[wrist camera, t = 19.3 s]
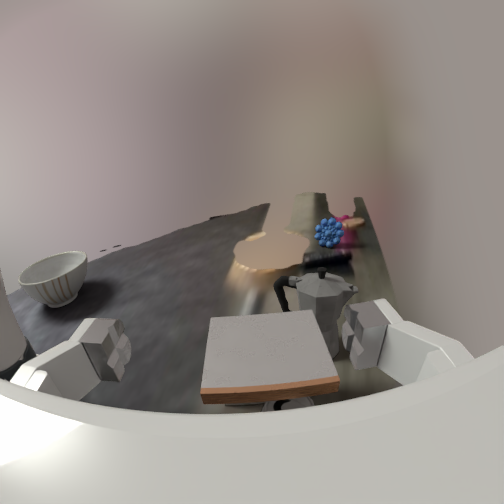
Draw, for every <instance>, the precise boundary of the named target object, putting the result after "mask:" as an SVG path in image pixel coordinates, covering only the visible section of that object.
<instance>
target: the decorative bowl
mask: <svg viewBox="0 0 504 504" xmlns="http://www.w3.org/2000/svg"><path fill="white" fill-rule="evenodd" d="M86 272H87V255H86V253H84V252H81V251H69V252H63V253H59V254H56V255H52V256H50V257H47V258H45V259H42V260H40V261H38V262H36V263H34V264H32V265H31V266H29V267H28V268H26V269H25V270H24V271H23V272H22V273H21V274H20V276H19V278H18V281H19V283H20V285H21V287H22V288H23V290H24V291H25V292H26V293H27V294H28V295H29V296H30V297H31V298H33V299H34V300H36V301H38V302H40V303H43V304H47V305H48V306H49V307H52V308H57V307H61V306H64V305H67V304H69V303H70V302H72V301H73V300H74V299H75V298H76V297H77V295H78V293H77V292H78V291H79V290H80V288H81V286H82V285H83V282H84V280H85V276H86Z"/></svg>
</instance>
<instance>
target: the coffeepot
mask: <svg viewBox="0 0 504 504" xmlns="http://www.w3.org/2000/svg"><path fill="white" fill-rule="evenodd" d="M317 270H318V273H310V274H306V275H304V276H303V277H301V278H300V277H294V276H291V277H288V276H281V277H280V278H279V279H278V280H277V281H276V282H275V283H274V290H275V292H276V294H277V297H278V300H279V302H280V305H281V308H282V310H283V312H292V311H290V310H289V309H288V302H287V300H286V298H285V292H284V289H283V286H288V287H291V288H296V289H297V294H298V301H299V308H300V311H302V310H311V309H312V311H313V314H314V316H315V318H316V321H317V323H318V326H319V328H320V331H321V333H322V336H323V338H324V341H325V343H326V346H327V348H328V351H329V353H330V356H331V358H332V359H333V358H334V357H335V356H336V354H337V353H338V352H339V338H338V326H337V320H338V318H339V317H340V314H341V311H342V307H343V306H344V305H345V304H346V302H347V301H348V300H349V299H350V298H351V297H352V296H353V295H354V294H355V293H358V289H357V287H355V286H354V285H352V284H349V283H346V282H345V281H344V279H343V278H342V277H339V276H336V275H333V274H329V273H326V271H327V269H326V268H323V267H321V268H318V269H317Z"/></svg>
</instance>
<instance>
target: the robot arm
mask: <svg viewBox="0 0 504 504" xmlns="http://www.w3.org/2000/svg"><path fill="white" fill-rule="evenodd" d="M344 316H345V318H346V320H347V321H346V322H345V323H344V324H343V326H342V340H343V344H344V347H345V349H346V350H347V351H349V352H351V353H350V360H351V362H352V364H353V366H354V368H355V370H359V369H364V368H370V367H375V366H377V367H378V368H379V369H381V370H382V371H383V372H385V373H386V374H388V375H389V376H391V377H392V378H394V379H395V380H396V381H398V382H399V383H401V384H402V385H404V386H401V387H398V388H394V389H391V390H387V391H383V392H379V393H376V394H372V395H368V396H363V397H359V398H354V399H350V400H345V401H340V402H335V403H329V404H324V405H318V406H311V407H304V408H297V409H289V410H280V411H270V412H257V413H240V414H178V413H160V412H148V411H138V410H129V409H121V408H114V407H107V406H101V405H95V404H90V403H85V402H80V401H79V400H80V399H81V398H83V397H84V396H85V395H86V394H87V393H88V392H89V391H90V390H92V389H93V388H94V387H95V386H96V385H97V384H98V383H100V382H101V381H113V382H120V380H121V378H122V375H123V373H124V371H125V369H124V367H123V365H125V364H126V363H127V362H129V359H130V357H131V346H130V342H129V339H128V338H127V337H126V336H125V335H124V334H123V332H124V330H125V328H124V325H123V323H122V321H121V320H119V319H101V318H98V319H97V318H86V319H84V321H83V322H82V323H81V325H80V326H79V327H78V328H77V330H76V331H75V332H74V334H73V335H72V336H71V338H70V339H69V340H68V341H64V342H62V343H61V344H59V345H57V346H55V347H53V348H51V349H50V350H48V351H46V352H44V353H42V354H41V355H38V354H36V353H35V352H34V350H33V347H32V345H31V343H30V342H29V341H28V339H27V338H26V337H25V336H24V335H23V333H22V331H21V329H20V327H19V325H18V323H17V320H16V318H15V316H14V314H13V311H12V309H11V306H10V304H9V301H8V298H7V295H6V291H5V287H4V283H3V278H2V274H1V270H0V504H504V345H503V346H500V347H499V348H497V349H495V350H493V351H491V352H489V353H486V354H485V355H482V356H480V357H478V358H476V359H474V358H473V357H472V355H471V354H470V353H469V352H468V351H467V349H466V348H464V346H463V345H462V344H461V343H460V342H459V341H457V340H455V339H452V338H450V337H447V336H444V335H442V334H440V333H437V332H435V331H432V330H430V329H427V328H424V327H422V326H420V325H417V324H415V323H412V322H410V321H404V320H403V319H402V318H401V317H400V316H399V314H398V313H397V312H396V311H395V310H394V309H393V307H392V306H391V305H390V304H389V303H388V301H387V300H386V299H378V300H373V301H369V302H363V303H357V304H350V305H346V307H345V310H344ZM100 380H101V381H100Z"/></svg>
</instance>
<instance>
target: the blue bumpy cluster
mask: <svg viewBox="0 0 504 504" xmlns="http://www.w3.org/2000/svg"><path fill="white" fill-rule="evenodd" d="M341 228H342V223H341V222H336V219H335V218H330V219H329V220H327V219H323V220H322V221H321V225H317V226H316V229H315V230H316V232H318V233H316V234H315V239H316V240H319V245H320V246H324V245H325V244H326V247H327V248H331V247H332V246H333V243H334V244H335V245H337V244H339V243H340V238H339V237H342V236H343V235H344V231H343V230H341Z"/></svg>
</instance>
